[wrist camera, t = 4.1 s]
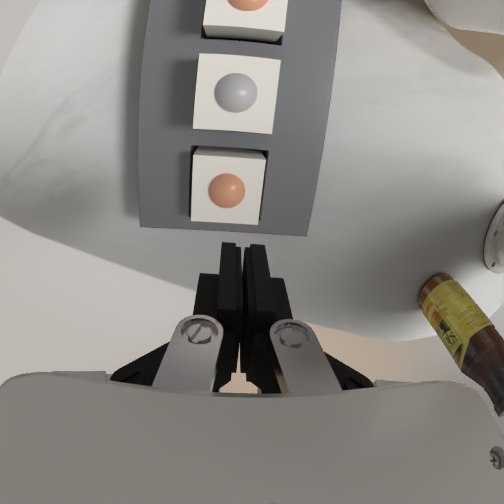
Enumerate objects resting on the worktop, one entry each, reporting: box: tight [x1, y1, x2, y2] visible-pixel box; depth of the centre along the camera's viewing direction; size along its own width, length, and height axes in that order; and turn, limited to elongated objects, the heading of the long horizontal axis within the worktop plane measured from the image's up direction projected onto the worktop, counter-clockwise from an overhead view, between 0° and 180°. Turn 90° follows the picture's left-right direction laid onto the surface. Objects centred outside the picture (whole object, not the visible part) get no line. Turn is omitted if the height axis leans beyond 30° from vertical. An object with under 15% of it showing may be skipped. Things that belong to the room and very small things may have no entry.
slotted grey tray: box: [138, 0, 342, 236], centre depth 20 cm, size 14×22×3 cm, turn 174°
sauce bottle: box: [419, 274, 504, 417], centre depth 25 cm, size 6×6×20 cm
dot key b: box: [203, 0, 288, 42], centre depth 15 cm, size 5×5×4 cm
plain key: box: [193, 53, 281, 134], centre depth 18 cm, size 5×5×4 cm
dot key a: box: [191, 146, 266, 225], centre depth 23 cm, size 5×5×4 cm
